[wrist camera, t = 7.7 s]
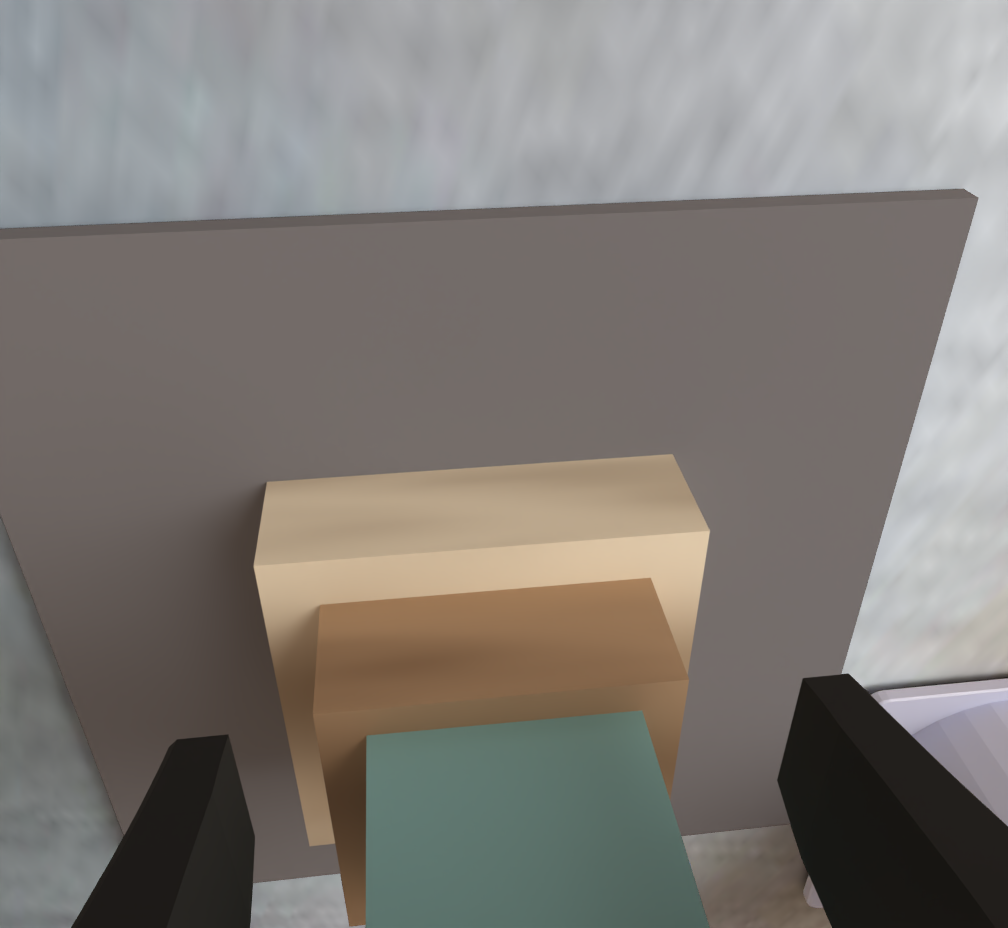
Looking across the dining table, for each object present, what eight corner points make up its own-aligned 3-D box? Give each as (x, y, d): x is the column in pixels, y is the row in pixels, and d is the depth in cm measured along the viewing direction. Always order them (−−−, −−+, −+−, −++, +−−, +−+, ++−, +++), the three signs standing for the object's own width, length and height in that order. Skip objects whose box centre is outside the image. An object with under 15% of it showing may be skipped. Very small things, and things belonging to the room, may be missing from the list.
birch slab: (640, 721, 23) (666, 808, 21) (314, 753, 22) (309, 846, 20) (672, 454, 19) (710, 530, 17) (267, 481, 18) (253, 565, 16)
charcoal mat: (791, 807, 27) (798, 823, 26) (150, 877, 25) (146, 894, 25) (962, 188, 17) (978, 197, 16) (-91, 232, 15) (-104, 243, 15)
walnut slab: (627, 784, 20) (655, 891, 18) (351, 813, 20) (349, 926, 18) (650, 577, 17) (689, 679, 15) (319, 604, 16) (312, 713, 14)
